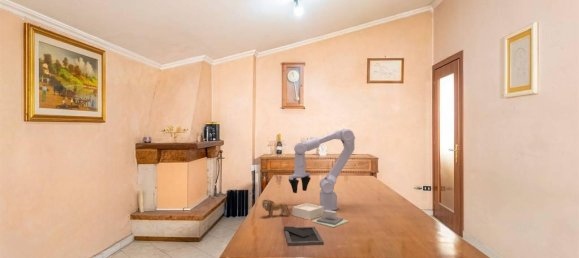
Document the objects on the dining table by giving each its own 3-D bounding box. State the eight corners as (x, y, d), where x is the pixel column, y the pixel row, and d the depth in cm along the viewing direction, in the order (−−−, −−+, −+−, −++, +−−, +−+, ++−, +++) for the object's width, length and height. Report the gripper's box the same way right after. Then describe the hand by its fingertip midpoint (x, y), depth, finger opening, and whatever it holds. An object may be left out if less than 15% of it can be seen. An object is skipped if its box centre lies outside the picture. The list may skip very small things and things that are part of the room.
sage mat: (327, 216, 155) (327, 215, 155) (348, 221, 146) (348, 220, 146) (311, 221, 146) (311, 220, 146) (333, 227, 138) (333, 226, 138)
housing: (306, 211, 164) (306, 202, 164) (323, 215, 157) (324, 206, 157) (292, 215, 156) (292, 206, 156) (309, 220, 149) (309, 211, 149)
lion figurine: (263, 219, 150) (263, 200, 149) (260, 216, 154) (260, 197, 154) (292, 216, 155) (292, 197, 155) (288, 213, 160) (288, 195, 160)
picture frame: (283, 231, 135) (287, 247, 117) (283, 226, 135) (287, 241, 117) (314, 230, 136) (323, 246, 118) (314, 225, 136) (323, 240, 118)
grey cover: (325, 216, 152) (325, 207, 152) (343, 220, 148) (343, 210, 148) (316, 221, 145) (316, 212, 145) (335, 225, 140) (335, 215, 140)
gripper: (303, 164, 175) (303, 188, 175) (284, 166, 164) (284, 192, 164) (313, 165, 170) (313, 190, 170) (294, 167, 159) (294, 194, 160)
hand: (299, 191), depth 167 cm, fingers open, 7 cm apart
